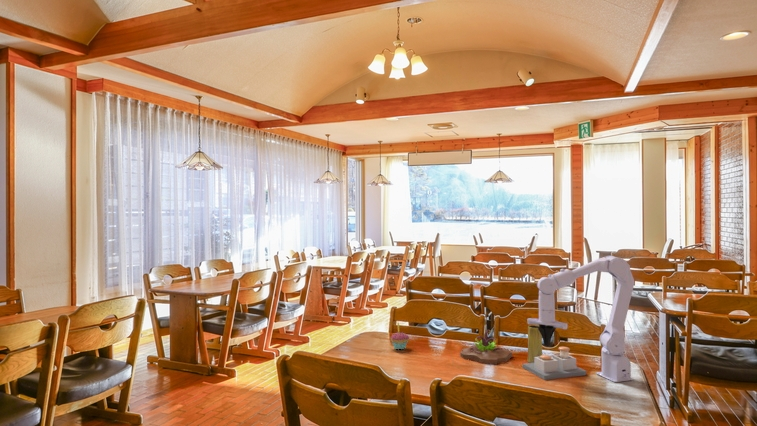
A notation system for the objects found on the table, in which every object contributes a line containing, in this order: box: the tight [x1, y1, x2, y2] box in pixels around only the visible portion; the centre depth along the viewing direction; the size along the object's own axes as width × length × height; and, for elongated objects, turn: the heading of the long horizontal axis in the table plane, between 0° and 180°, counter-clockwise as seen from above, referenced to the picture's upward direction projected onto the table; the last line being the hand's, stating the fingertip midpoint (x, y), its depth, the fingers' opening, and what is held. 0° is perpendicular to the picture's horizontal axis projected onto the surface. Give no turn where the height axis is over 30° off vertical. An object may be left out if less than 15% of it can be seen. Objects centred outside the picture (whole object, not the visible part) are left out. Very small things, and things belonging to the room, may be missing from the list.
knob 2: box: [558, 346, 570, 359], centre depth 175 cm, size 4×4×5 cm
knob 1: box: [541, 354, 552, 361], centre depth 173 cm, size 4×4×5 cm
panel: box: [521, 354, 587, 381], centre depth 175 cm, size 14×18×5 cm
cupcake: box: [390, 322, 410, 350], centre depth 206 cm, size 9×8×12 cm
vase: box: [526, 324, 543, 363], centre depth 186 cm, size 6×6×14 cm
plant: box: [459, 329, 513, 365], centre depth 194 cm, size 20×20×11 cm
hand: (547, 345), depth 173 cm, fingers closed
